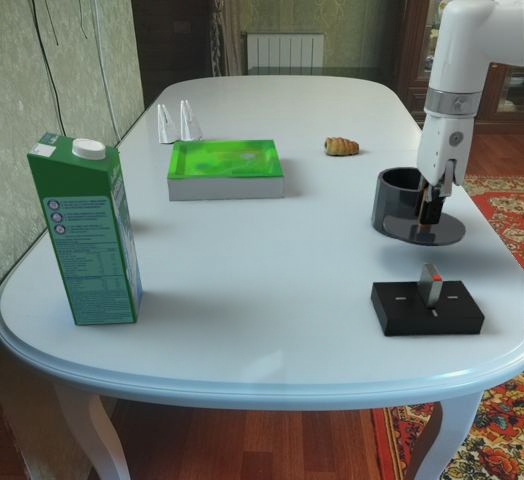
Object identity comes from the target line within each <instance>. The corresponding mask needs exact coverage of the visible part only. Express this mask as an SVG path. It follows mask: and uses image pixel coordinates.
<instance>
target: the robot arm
mask: <svg viewBox="0 0 524 480" xmlns="http://www.w3.org/2000/svg"><path fill="white" fill-rule="evenodd" d="M491 63H498V64H504V65H508V66H509V65H510V66H515V67H523V68H524V0H450V1H449V2H447V4H446V5H445V7H444V9H443V10H442V14H441V19H440V24H439V30H438V35H437V40H436V45H435V50H434V55H433V61H432V65H431V71H430V76H429V81H428V87H427V92H426V96H425V102H424V107H423V112H424V113H425V114H426V116H425V119H424V124H423V127H422V130H421V131H422V132H421V134H420V140H419V144H418V149H417V155H416V168H418V169H419V171H420V172H421V175H420V177H421V178H420V183H419V188H418V190H419V192H421V193H418V196H417V200H416V205H415V210H414V215H415V216H419V213H420V209H421V204H422V199H423V195H424V190H425V189H426V188H428V192H427V197H426V200H424V201H423V206H422V210H421V215H420V220H419V223H420V224H421V225H434V224H438V223H439V220H440V216H441V212H443V208H444V203H445V202H446V199H447V198H450V197H451V196H452V193H453V192H452V191H453V185H455V186H456V187H460V186H461V185H462V184H463V183H464V179H465V175H466V171H467V166H468V161H469V156H470V152H471V147H472V141H473V134H474V126H475V125H474V123H475V118H474V117H476V116H477V114H478V111H479V106H480V103H481V99H482V95H483V90H484V87H485V83H486V79H487V75H488V71H489V67H490V64H491ZM439 180H442V181H439ZM437 187H441V188H440V189H437ZM434 188H436V190H435V191H434Z"/></svg>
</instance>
